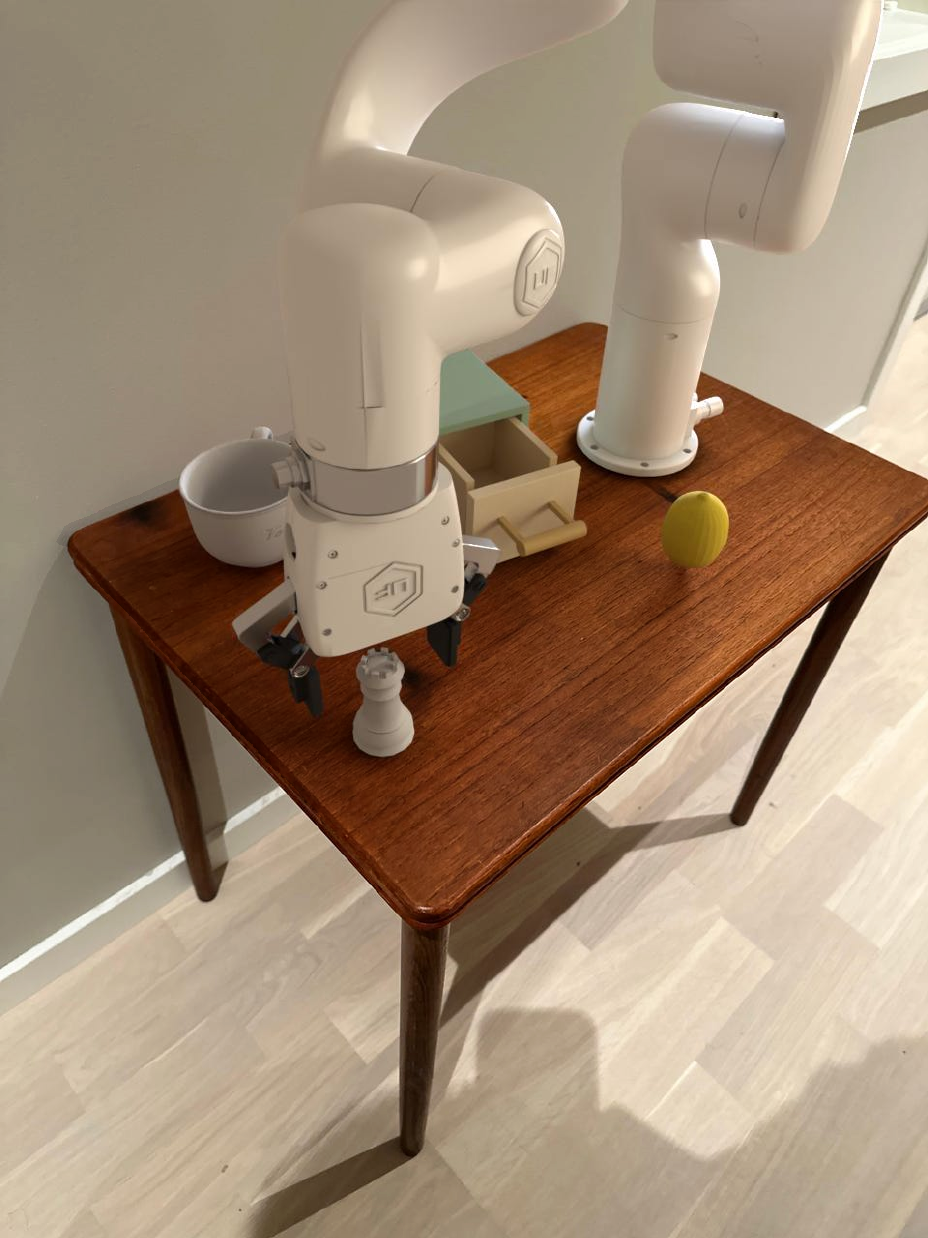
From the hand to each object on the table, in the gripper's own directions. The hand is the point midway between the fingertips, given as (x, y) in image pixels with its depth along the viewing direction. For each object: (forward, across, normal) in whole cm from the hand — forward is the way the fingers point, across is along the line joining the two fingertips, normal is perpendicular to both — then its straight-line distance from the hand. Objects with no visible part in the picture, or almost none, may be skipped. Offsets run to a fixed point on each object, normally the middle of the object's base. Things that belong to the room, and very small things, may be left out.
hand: (377, 676), depth 58 cm
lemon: (+6, +32, +5) cm, 33 cm away
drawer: (+6, +19, +16) cm, 26 cm away
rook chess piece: (+7, 0, 0) cm, 7 cm away
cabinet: (+6, +19, +28) cm, 35 cm away
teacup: (+7, 0, +26) cm, 27 cm away
